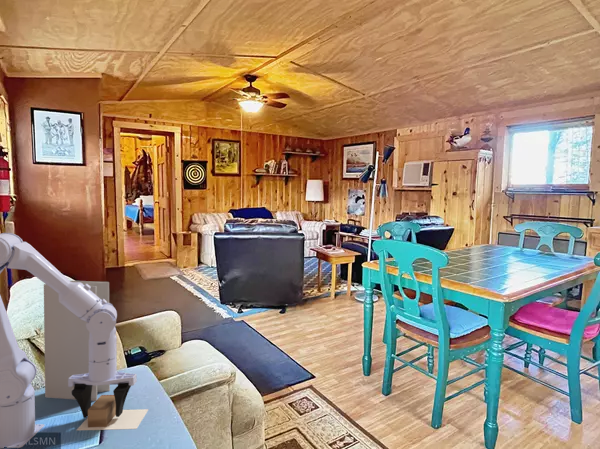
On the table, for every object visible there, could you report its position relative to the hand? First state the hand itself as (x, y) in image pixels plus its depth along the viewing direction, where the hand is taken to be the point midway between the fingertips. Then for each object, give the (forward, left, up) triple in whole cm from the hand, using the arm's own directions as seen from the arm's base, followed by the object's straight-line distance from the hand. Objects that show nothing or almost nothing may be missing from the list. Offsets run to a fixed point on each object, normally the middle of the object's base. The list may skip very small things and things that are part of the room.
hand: (103, 414), depth 86 cm
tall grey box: (-12, +12, -2) cm, 17 cm away
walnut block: (0, 0, -1) cm, 1 cm away
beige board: (+2, 0, -2) cm, 3 cm away
